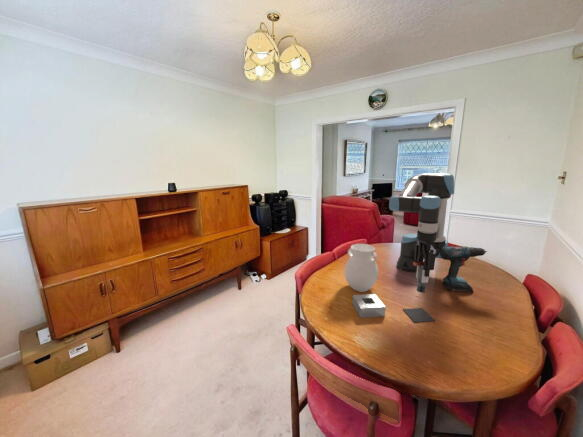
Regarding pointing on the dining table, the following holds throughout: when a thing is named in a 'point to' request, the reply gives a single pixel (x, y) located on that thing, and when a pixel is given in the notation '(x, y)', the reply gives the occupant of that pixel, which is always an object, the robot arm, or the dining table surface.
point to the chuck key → (420, 276)
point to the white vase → (361, 267)
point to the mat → (418, 315)
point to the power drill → (457, 260)
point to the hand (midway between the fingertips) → (421, 279)
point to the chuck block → (368, 305)
